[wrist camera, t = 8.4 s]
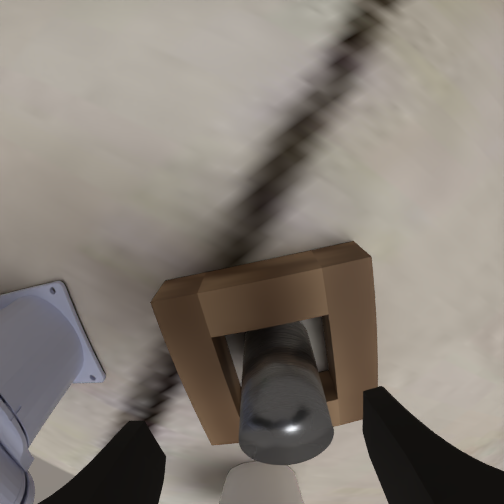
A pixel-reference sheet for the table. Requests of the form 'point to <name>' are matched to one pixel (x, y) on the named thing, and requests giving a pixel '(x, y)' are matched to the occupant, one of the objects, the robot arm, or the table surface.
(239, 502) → the foam cup
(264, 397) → the round peg
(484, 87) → the table surface
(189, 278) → the square wooden ring
